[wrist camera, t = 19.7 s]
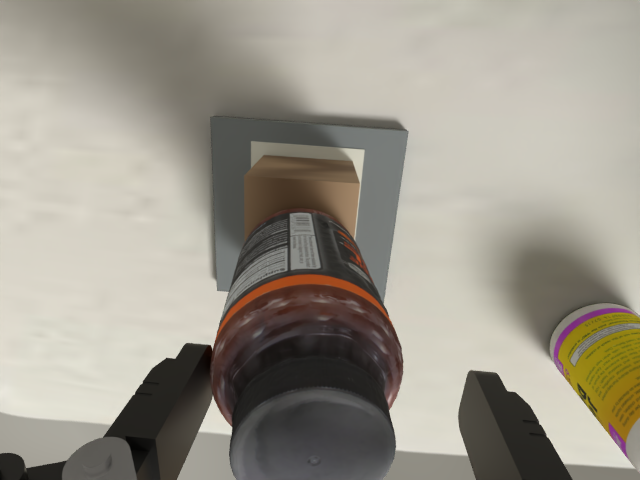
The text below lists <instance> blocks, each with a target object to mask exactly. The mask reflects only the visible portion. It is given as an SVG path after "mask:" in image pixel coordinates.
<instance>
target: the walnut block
mask: <svg viewBox="0 0 640 480" xmlns="http://www.w3.org/2000/svg"><path fill="white" fill-rule="evenodd" d="M359 189H360V182H359V179H358V176H357V173H356V170H355V167H354V164H353V161H344V160H329V159H315V158H301V157H286V156H272V155H263V156H262V157H261V158H260V159H259V161H258V162H257V163H256V164H255V165H254V166H253V167H252V168H251V169H250V170H249V171H248V172H247V173H246V174H245V175H244V224H245V241H246V239H247V237H248V235H249V234H250V232H251V231H252V230H253V229H254V228H255V227H256V226H257V225H258V224H259V223H260V222H261V221H263V220H264V219H265V218H267V217H269V216H270V215H272V214H274V213H277V212H279V211H283V210H287V209H294V208H304V209H314V210H317V211H321V212H324V213H326V214H327V215H329V216H331V217H333V218H335V219H336V220H337V221H338V222H340V223H341V224H342V225H343V226H344V227H345V228H346V229H347V230H348V232H349V233H350V235H351V236H352V237H353V238H354V236H355V227H356V217H357V208H358V198H359Z"/></svg>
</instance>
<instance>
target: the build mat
mask: <svg viewBox="0 0 640 480" xmlns="http://www.w3.org/2000/svg"><path fill="white" fill-rule="evenodd" d="M407 138H408V131H407V130H402V129H388V128H374V127H360V126H347V125H333V124H319V123H305V122H291V121H277V120H264V119H250V118H236V117H222V116H213V117H211V143H212V170H213V196H214V222H215V249H216V275H217V291H226V292H229V290H230V286H231V283H232V279H233V276H234V271H235V269H236V265H237V262H238V258H239V255H240V252H241V250H242V247H243V244H244V242H245V224H244V175H245V174H246V173H247V172H248V171H249V170H250V169H251V168H252V167H253V166H254V165H255V164H256V163H257V162H258V161H259V159H260V158H261V157H262V156H263V155H272V156H286V157H301V158H315V159H329V160H344V161H353V164H354V167H355V170H356V173H357V176H358V179H359V182H360V189H359V198H358V208H357V217H356V227H355V236H354V240H355V242H356V244H357V246H358V248H359V250H360V253H361V255H362V258H363V260H364V262H365V264H366V266H367V268H368V271H369V274H370V276H371V278H372V280H373V283H374V285H375V287H376V288H377V290H378V292H379V295H380V297H381V299H382V302H383V304H384V297H385V290H386V283H387V276H388V269H389V262H390V255H391V248H392V242H393V235H394V228H395V221H396V214H397V207H398V200H399V193H400V186H401V180H402V173H403V166H404V159H405V152H406V145H407Z"/></svg>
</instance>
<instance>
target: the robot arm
mask: <svg viewBox="0 0 640 480" xmlns="http://www.w3.org/2000/svg"><path fill="white" fill-rule="evenodd" d="M211 357H212V347H211V345H203V344H193V343H186V344H185V345H184V346H183V348H182V349H181V351H180V353H179V354H178V356H177V357H176V359H172V358H166V359H165V360H163V361H162V362H161V363H159V364H158V365H156V366H155V367H154V368H152V370H151V371H150V372H149V374H148V375H147V377H146V378H145V379H144V381H143V384H141V385H140V386H139V388H138V389H137V391H136V392H135V395H133V396H132V398H131V399H130V400H129V402H128V403H127V405H126V406H125V407H124V409H123V410H122V412H121V413H120V414H119V416H118V417H117V419H116V420H115V421H114V423H113V424H112V426H111V427H110V428H109V430H108V431H107V433H106V434H105V435H104V437H103V438H99V439H96V440H94V441H91V442H89V443H87V444H85V445H83V446H82V447H81V448H79V449H78V450H77V451H76V452H74V453H73V454H72V455H71V457H70V458H69V459H68V460H67V461H63V462H58V463H53V464H47V465H42V466H36V467H31V468H26V467H25V464H24V460H23V459H22V457H20V456H19V455H16V454H13V453H2V454H0V480H177V478H178V475H179V473H180V471H181V469H182V466H183V464H184V462H185V460H186V457H187V455H188V453H189V451H190V448H191V446H192V444H193V442H194V440H195V437H196V435H197V433H198V431H199V428H200V426H201V424H202V422H203V419H204V417H205V415H206V413H207V410H208V408H209V406H210V403H211V400H212V396H213V393H212V389H211V383H210V364H211ZM458 419H459V428H460V432H461V435H462V438H463V441H464V444H465V447H466V450H467V453H468V456H469V459H470V462H471V465H472V468H473V471H474V475H475V478H476V480H572V478H571V476H570V475H569V473H568V471H567V469H566V467H565V466H564V464H563V462H562V461H561V459H560V457H559V455H558V454H557V452H556V450H555V448H554V447H553V445H552V443H551V441H550V440H549V438H547V437H546V433H545V431H544V429H543V428H542V426H541V425H539V421H538V419H537V417H536V415H535V414H534V412H533V410H532V409H531V407H530V406H529V405H528V404H527V403H526V402H525V401H524V400H523V399H522V398H521V397H520V396H519V395H518V394H517V393H516V392H508V391H507V390H506V388H505V386H504V385H503V383H502V381H501V379H500V377H499V375H498V374H497V373H494V372H483V371H472V370H471V371H469V372H468V375H467V378H466V382H465V386H464V391H463V395H462V399H461V403H460V407H459V415H458Z"/></svg>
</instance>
